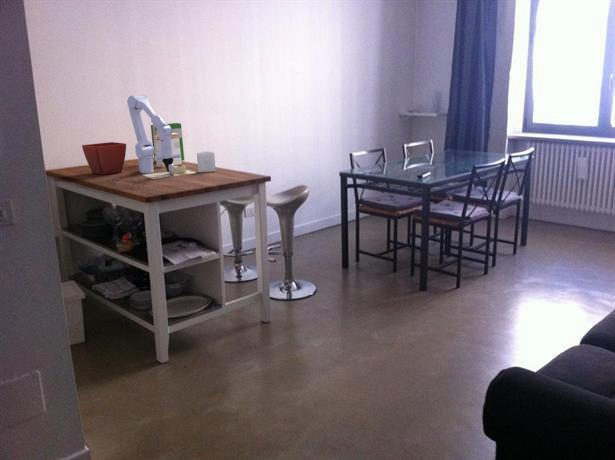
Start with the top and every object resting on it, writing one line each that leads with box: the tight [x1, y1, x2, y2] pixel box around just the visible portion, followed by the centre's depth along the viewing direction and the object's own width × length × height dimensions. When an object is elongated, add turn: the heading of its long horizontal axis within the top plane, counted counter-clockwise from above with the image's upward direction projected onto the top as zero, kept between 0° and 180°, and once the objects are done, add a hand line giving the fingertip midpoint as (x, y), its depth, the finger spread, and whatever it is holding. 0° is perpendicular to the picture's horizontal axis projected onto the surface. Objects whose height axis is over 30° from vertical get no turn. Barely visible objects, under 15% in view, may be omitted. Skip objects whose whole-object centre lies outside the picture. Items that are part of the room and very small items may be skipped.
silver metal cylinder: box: [168, 164, 175, 177], centre depth 331 cm, size 3×3×6 cm
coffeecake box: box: [154, 133, 183, 168], centre depth 372 cm, size 15×7×20 cm, turn 144°
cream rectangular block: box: [174, 164, 187, 174], centre depth 340 cm, size 5×8×4 cm, turn 124°
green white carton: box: [150, 122, 185, 163], centre depth 390 cm, size 18×7×24 cm, turn 126°
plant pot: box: [81, 141, 127, 176], centre depth 353 cm, size 19×19×17 cm
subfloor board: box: [142, 169, 197, 180], centre depth 337 cm, size 18×26×1 cm
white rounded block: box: [196, 149, 216, 173], centre depth 342 cm, size 10×4×12 cm, turn 126°
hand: (168, 171), depth 338 cm, fingers closed
